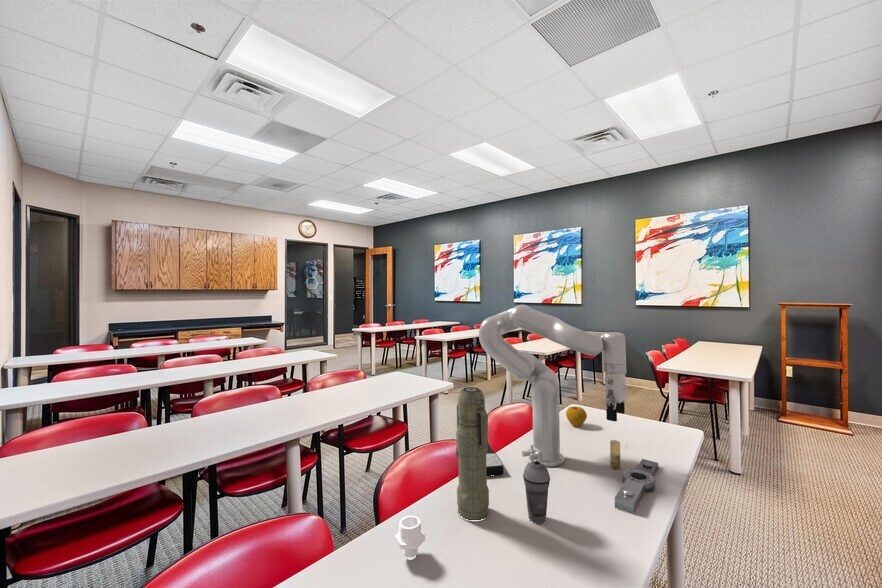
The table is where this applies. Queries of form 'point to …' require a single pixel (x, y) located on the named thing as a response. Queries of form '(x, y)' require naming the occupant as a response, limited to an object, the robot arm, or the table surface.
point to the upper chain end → (632, 490)
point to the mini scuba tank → (536, 490)
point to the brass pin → (615, 454)
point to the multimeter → (492, 463)
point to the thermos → (472, 454)
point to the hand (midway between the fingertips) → (615, 416)
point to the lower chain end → (649, 468)
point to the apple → (576, 416)
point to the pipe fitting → (410, 535)
